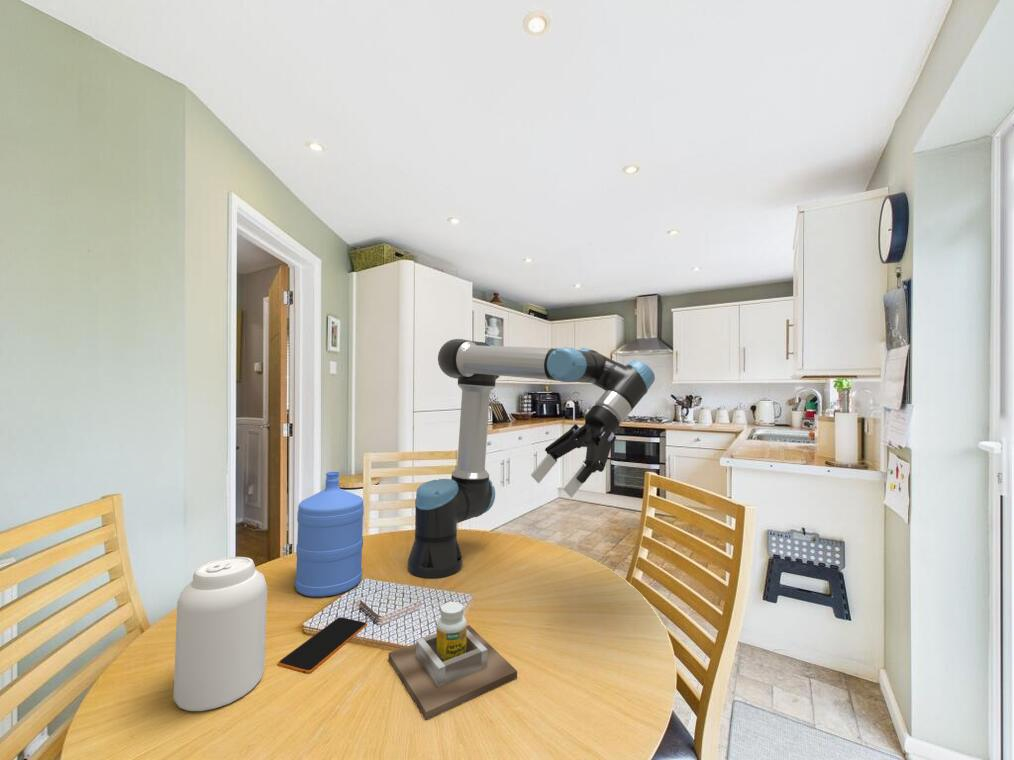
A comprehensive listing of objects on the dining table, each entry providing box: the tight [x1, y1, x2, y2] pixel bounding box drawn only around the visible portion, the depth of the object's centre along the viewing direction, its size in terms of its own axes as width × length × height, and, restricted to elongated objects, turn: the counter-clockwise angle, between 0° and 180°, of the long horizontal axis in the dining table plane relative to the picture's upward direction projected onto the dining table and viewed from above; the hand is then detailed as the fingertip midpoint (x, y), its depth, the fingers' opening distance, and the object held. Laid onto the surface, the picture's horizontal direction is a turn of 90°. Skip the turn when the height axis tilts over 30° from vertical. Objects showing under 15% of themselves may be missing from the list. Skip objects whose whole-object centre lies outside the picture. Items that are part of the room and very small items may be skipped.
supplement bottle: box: [436, 601, 468, 662], centre depth 75 cm, size 5×5×10 cm
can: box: [173, 556, 268, 712], centre depth 70 cm, size 12×12×20 cm
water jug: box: [294, 471, 365, 598], centre depth 107 cm, size 16×16×28 cm
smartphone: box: [277, 616, 368, 675], centre depth 82 cm, size 8×17×1 cm, turn 162°
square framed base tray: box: [387, 624, 518, 721], centre depth 75 cm, size 17×17×4 cm
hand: (549, 485), depth 90 cm, fingers open, 13 cm apart
